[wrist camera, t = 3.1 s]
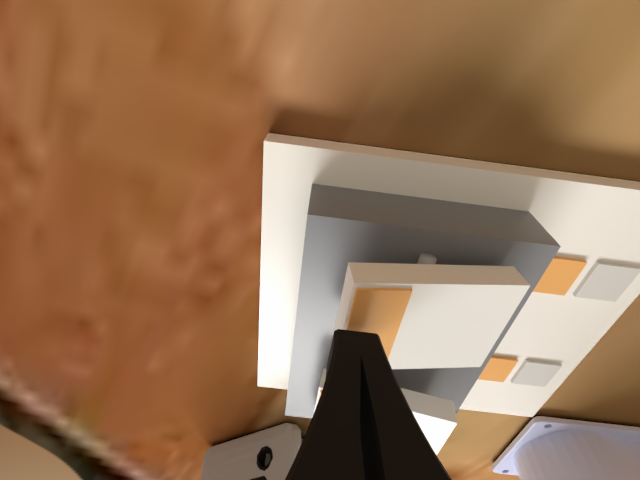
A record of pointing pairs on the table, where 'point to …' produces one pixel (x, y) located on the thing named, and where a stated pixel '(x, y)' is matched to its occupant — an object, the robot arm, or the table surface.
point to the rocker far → (425, 414)
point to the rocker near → (430, 310)
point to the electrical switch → (254, 455)
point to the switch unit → (441, 260)
